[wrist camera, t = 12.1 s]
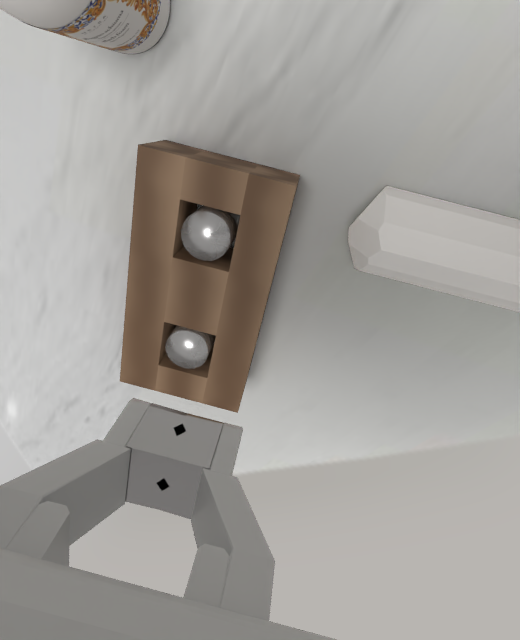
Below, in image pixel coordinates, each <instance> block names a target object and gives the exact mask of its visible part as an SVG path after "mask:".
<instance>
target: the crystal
mask: <svg viewBox="0 0 520 640" xmlns="http://www.w3.org/2000/svg"><path fill="white" fill-rule="evenodd" d="M348 244H349V248H350V252H351V256H352V260H353V265H354V268H355V269H357V270H359V271H362V272H366V273H370V274H374V275H378V276H382V277H386V278H389V279H393V280H397V281H401V282H405V283H409V284H412V285H416V286H420V287H424V288H428V289H432V290H436V291H439V292H443V293H447V294H451V295H455V296H459V297H463V298H466V299H470V300H474V301H478V302H482V303H486V304H490V305H493V306H497V307H501V308H505V309H509V310H513V311H516V312H520V220H519V219H515V218H511V217H507V216H503V215H499V214H495V213H491V212H487V211H484V210H480V209H476V208H472V207H468V206H464V205H460V204H456V203H452V202H448V201H445V200H441V199H437V198H433V197H429V196H425V195H421V194H417V193H413V192H409V191H406V190H402V189H398V188H394V187H390V186H386V187H385V188H384V189H383V190H382V191H381V192H380V193H379V194H378V195H377V196H376V198H375V199H374V200H373V201H372V202H371V203H370V204H369V205H368V206H367V208H366V209H365V210H364V211H363V212H362V213H361V214H360V215H359V216H358V218H357V219H356V220H355V221H354V222H353V223H352V224H351V226H350V227H349V228H348Z"/></svg>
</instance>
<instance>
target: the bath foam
mask: <svg viewBox="0 0 520 640" xmlns="http://www.w3.org/2000/svg"><path fill="white" fill-rule="evenodd" d="M0 8H1V9H2V10H3V11H5V12H6V13H8V14H10V15H11V16H13V17H15V18H17V19H18V20H20V21H22V22H24V23H26V24H28V25H31V26H34V27H37V28H40V29H43V30H47V31H50V32H53V33H57V34H60V35H63V36H66V37H70V38H73V39H76V40H80V41H83V42H86V43H89V44H93V45H96V46H99V47H103V48H106V49H109V50H113V51H117V52H120V53H125V54H137V53H141V52H144V51H146V50H148V49H150V48H151V47H152V46H154V45H155V44H156V43H157V42H158V40H159V39H160V38H161V36H162V34H163V33H164V31H165V28H166V26H167V23H168V18H169V12H170V0H0Z"/></svg>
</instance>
